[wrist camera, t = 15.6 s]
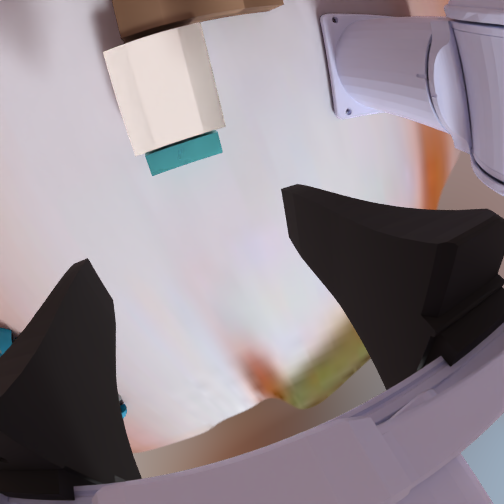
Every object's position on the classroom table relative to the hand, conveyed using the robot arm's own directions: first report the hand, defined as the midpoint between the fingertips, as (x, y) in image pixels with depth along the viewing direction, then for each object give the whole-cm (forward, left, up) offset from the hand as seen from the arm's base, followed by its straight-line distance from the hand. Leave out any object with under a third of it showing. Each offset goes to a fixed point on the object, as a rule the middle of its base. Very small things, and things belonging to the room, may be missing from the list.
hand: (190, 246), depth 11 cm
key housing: (-1, -5, -10) cm, 12 cm away
